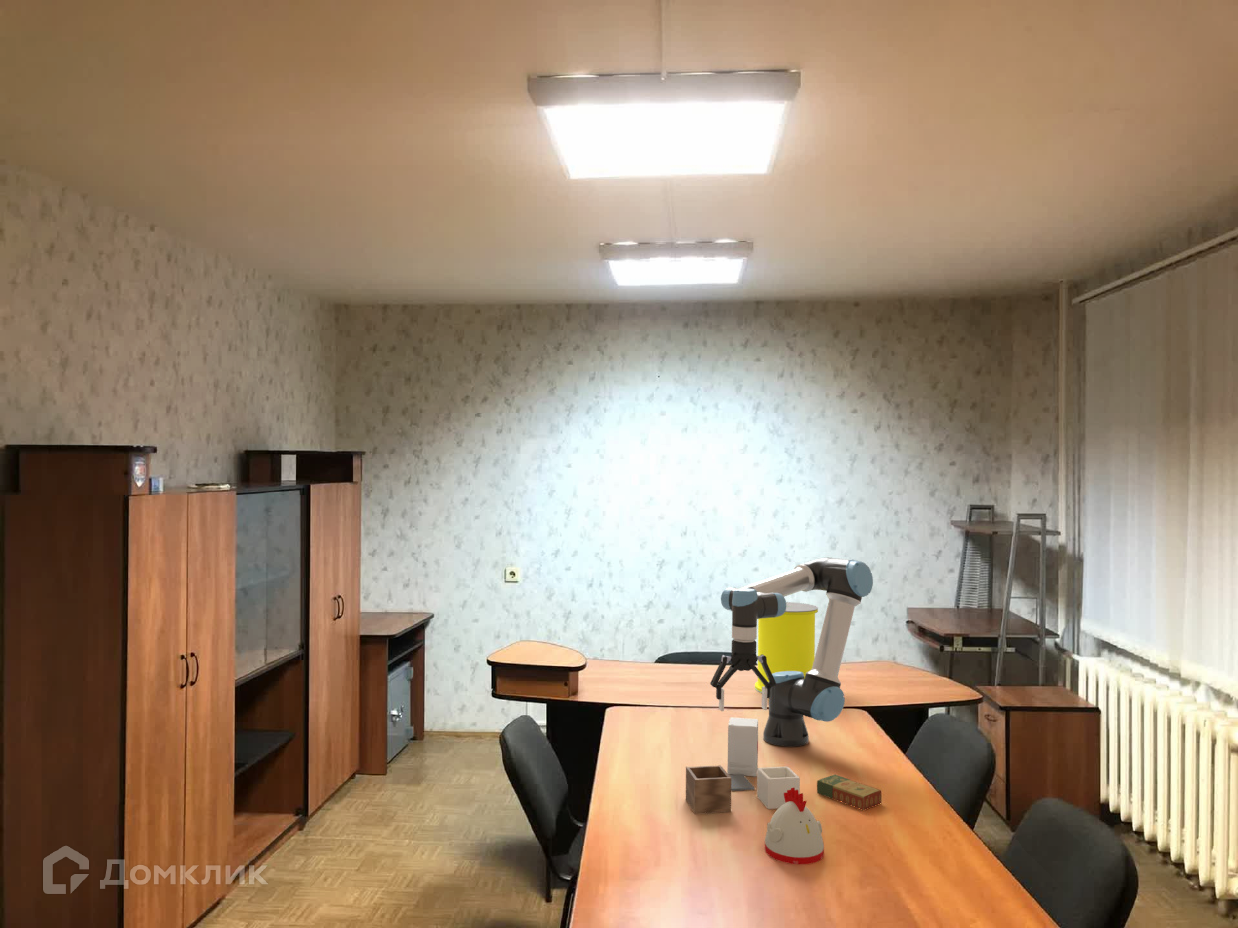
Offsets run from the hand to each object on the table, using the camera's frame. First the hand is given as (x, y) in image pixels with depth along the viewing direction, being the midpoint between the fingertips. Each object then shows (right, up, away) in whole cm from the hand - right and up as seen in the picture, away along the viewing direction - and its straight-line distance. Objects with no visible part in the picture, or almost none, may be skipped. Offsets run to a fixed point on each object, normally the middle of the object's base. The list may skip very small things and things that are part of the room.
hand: (742, 709), depth 259 cm
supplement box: (0, -19, 0) cm, 19 cm away
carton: (+27, -19, -21) cm, 39 cm away
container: (+33, -21, +100) cm, 107 cm away
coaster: (-5, -19, -11) cm, 22 cm away
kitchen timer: (+4, -18, -55) cm, 58 cm away
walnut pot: (-14, -18, -28) cm, 36 cm away
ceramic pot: (+6, -18, -24) cm, 31 cm away
